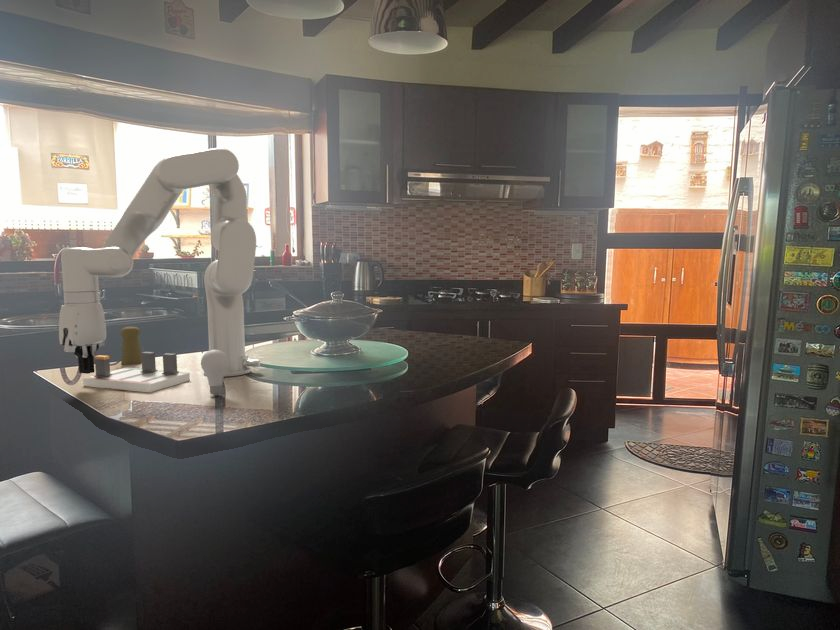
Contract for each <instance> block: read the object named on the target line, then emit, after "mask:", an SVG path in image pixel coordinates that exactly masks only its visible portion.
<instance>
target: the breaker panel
mask: <svg viewBox="0 0 840 630" xmlns="http://www.w3.org/2000/svg"><path fill="white" fill-rule="evenodd" d="M156 370H157V371H155V372H151V373H141V372H140V371H142V368H139V367H138V368H137V367H136V368H135V367H124V368H119V369H115V370H110V374H112V375H110V376H106V377H102V378H100V377H94V376H95V375H96V374H94V375H91V376H87V377H82V385H83V387H89V386H90V387H92V388H101V389H110V388H111V389H110V390H122V391H132V392H142V393H152V392H157V391H159V390H162V389H166V388H169V387H172V386H176V385H178V384H183V383H186V382H188V381H190V380H191V379H190V378H191V377H190V376H191V375H190V372H184V371H179V373H175V374H172V375H165V374H162V373H164V371H163V370H161V369H160V370H159V369H156Z"/></svg>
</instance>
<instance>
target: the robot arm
mask: <svg viewBox="0 0 840 630" xmlns="http://www.w3.org/2000/svg"><path fill="white" fill-rule="evenodd" d="M239 165H240V164H239V161H238V158H237V157H236V154H235V153H233V151H231V150H229V149H228V148H227V149H226V148H223V147H214V148H209V149H204V150H203V149H202V150H198V151H193V152H187V153H180V154H174V155H170V156H169V155H168V156H166V157H165V158H163V159H161V160H159V162H158V163H157V164H156V165H154V167H153V169H151V171H150V173H149V175H148V176H147V178H146V179H145V180H144V182H143V184H142V185H141V187H140V189H138V191H137V193H136V194H135V196H134V197H133V199H132V200H131V202H130V203H129V205H128V206H127V208H125V211H124V212H123V214H122V216H121V217H120V219H119V221H118V222H117V224H116V225H115V227H114V228H113V230H112V231H111V233H110V234H109V236H108V237H107V239H106V240H105V242H104V243H103V245H102V246H101V247H100V248H93V247H66V248H63V249H62V250H61V253H60V259H61V261H60V263H61V273H62V288H63V299H64V300H63V302H64V305H63V304H62V305H61V306H60V310H59V319H58V340H59V345H61V346H64V348H63V352H64V353H65V352H66V353H73V354H74V356H75V358H78V359H77V361H78V373H79V374H87V375H89V374H92V373H95V357H94V356H97V351H98V350H99V348H101V347H104V346H105V344H106V342H105V341H106V339H107V323H106V317H105V311H104V308H103V305H102V303H101V301H100V299H101V298H102V293H101V292H100V288H99V287H100V286H99V277H108V278H122V277H124V276H126V275H128V274H129V273H130V272H131V271H132V270H133V267H134V259H133V257H135V254H136V253H137V252H138V250H139V248H140V247H141V246H142V244H143V243H144V241H146V240H147V238H148V237H149V236H150V235H152V234H153V233H154V232H155V231H156V230H157V229H158V228H159V227H160V225H162V224H163V222H164V221H165V219H166V217H167V215H168V214H169V212H170V211H171V209H172V208H173V206H174V204H175V203H176V202H177V200H178V199H179V197H180V196H181V194H182V192H183V191H184V190H188V189H193V188H198V187H204V186H208V187H209V188H210V190H211V191H212V193H213V194H212V195H213V199H214V201H213V202H214V204H213V216H212V217H213V218H212V219H213V220H212V226H211V232H210V233H211V234H210V235H211V236H210V241H211V244H212V246H213V248H214V249H215V250H216V251H218V252H217V259H215V260H214V261H212V262H211V263H209V264H208V265H207V267H206V268H205V272H204V278H203V279H204V280H203V281H204V282H203V283H204V289H205V290H204V291H205V296H206V304H207V305H206V306H207V329H208V330H207V332H208V351H210V350H220V351H222V352H224V353H225V354H226V356H227V357H228V367H227V369H226V371H225V373H224V376H223V378H224V377H226V378H228V377H236V376H237V377H238V376H242V375H247V374H249V373H251V372H252V367H253V368H255V367H257V368H258V367H259V368H260V367H261V360H260V359H255V358H254V359H250V358H249V354H246V341H245V339H246V337H245V311H244V310H245V309H244V308H245V307H244V298H243V294H244V293H245V292H247V290H249V288H250V287H251V285H252V283H253V278H254V277H253V276H254V269H255V260H256V250H257V235H256V232H255V229H254V227H253V225H252V224H251V223H250V222H248V220H247V211H248V210H247V207H248V198H247V191H246V187H245V185H244V183H243V182H242V179H241V178H240V176H239V175H238V172H239V167H240V166H239ZM203 374H204V375H205V376H206V374H205V372H204V371H203Z"/></svg>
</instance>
